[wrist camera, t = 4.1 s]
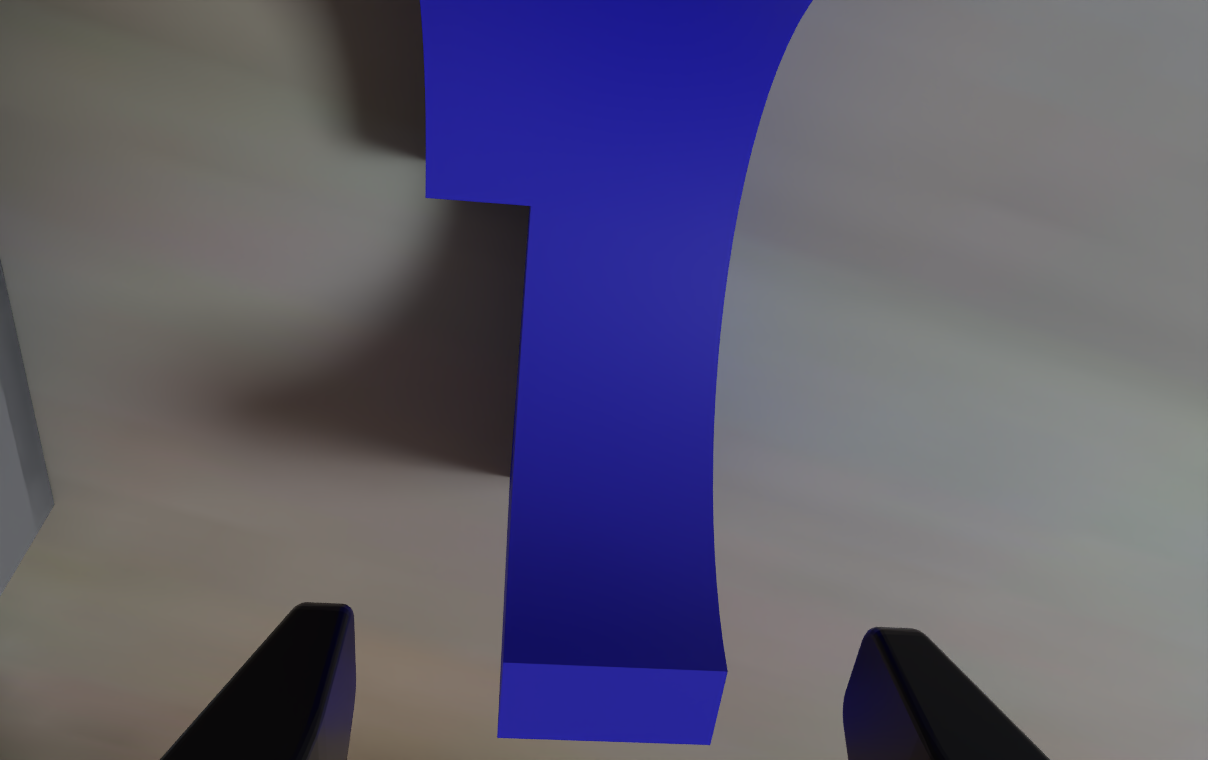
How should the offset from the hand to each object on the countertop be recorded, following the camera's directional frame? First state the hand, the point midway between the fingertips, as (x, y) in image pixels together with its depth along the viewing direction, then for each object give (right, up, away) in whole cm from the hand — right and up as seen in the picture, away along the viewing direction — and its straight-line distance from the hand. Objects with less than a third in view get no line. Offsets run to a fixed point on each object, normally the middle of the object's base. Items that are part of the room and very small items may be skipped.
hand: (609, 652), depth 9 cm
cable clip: (0, +6, +8) cm, 10 cm away
